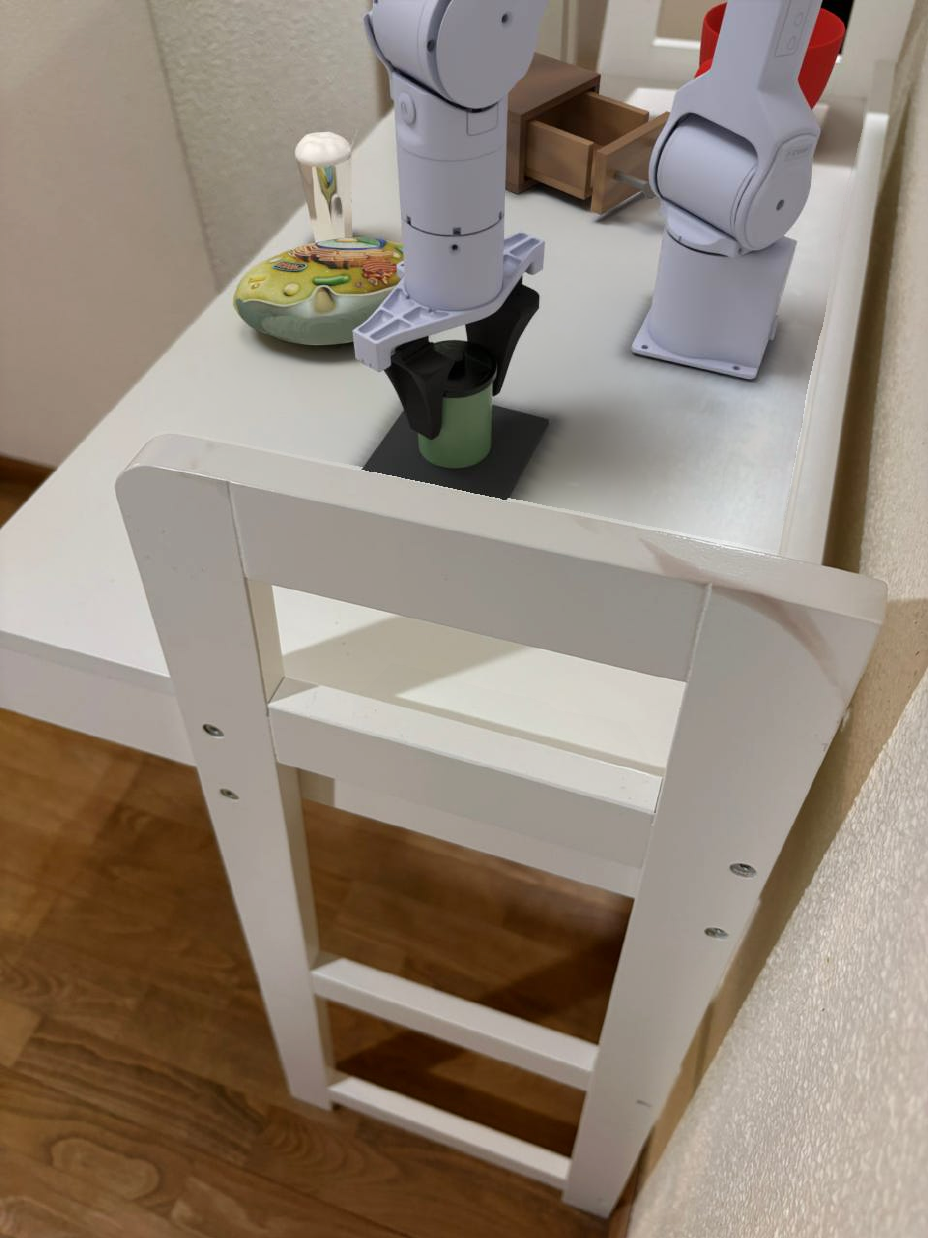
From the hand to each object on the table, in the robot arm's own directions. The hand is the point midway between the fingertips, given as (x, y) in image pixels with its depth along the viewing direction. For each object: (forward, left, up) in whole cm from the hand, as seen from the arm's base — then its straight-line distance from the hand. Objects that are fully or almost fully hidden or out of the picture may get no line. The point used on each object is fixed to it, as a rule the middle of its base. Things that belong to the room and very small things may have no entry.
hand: (455, 409), depth 61 cm
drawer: (+2, -39, -2) cm, 39 cm away
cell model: (+15, -11, -4) cm, 19 cm away
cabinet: (+13, -43, -3) cm, 45 cm away
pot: (0, 0, -3) cm, 3 cm away
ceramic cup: (-8, -54, -4) cm, 55 cm away
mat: (0, 0, -3) cm, 3 cm away
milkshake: (+20, -21, -4) cm, 29 cm away
